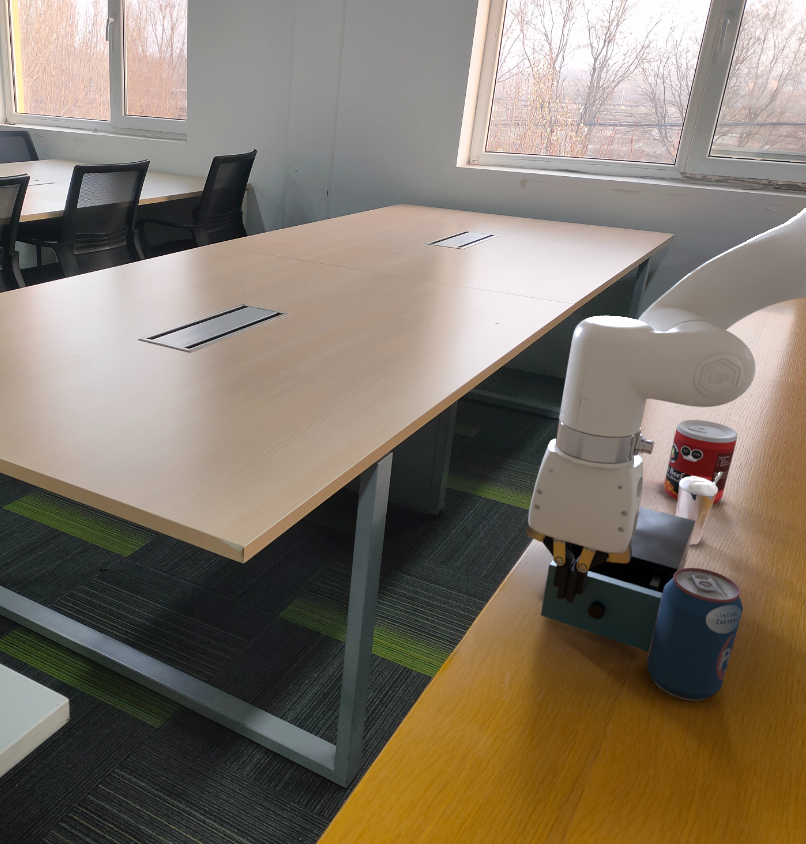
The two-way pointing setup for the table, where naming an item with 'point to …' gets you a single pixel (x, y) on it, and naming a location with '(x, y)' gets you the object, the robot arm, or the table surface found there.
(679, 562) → the cabinet
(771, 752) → the table surface
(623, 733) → the table surface
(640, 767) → the table surface
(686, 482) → the milkshake
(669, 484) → the canned food
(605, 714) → the table surface
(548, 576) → the drawer
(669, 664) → the soda can
